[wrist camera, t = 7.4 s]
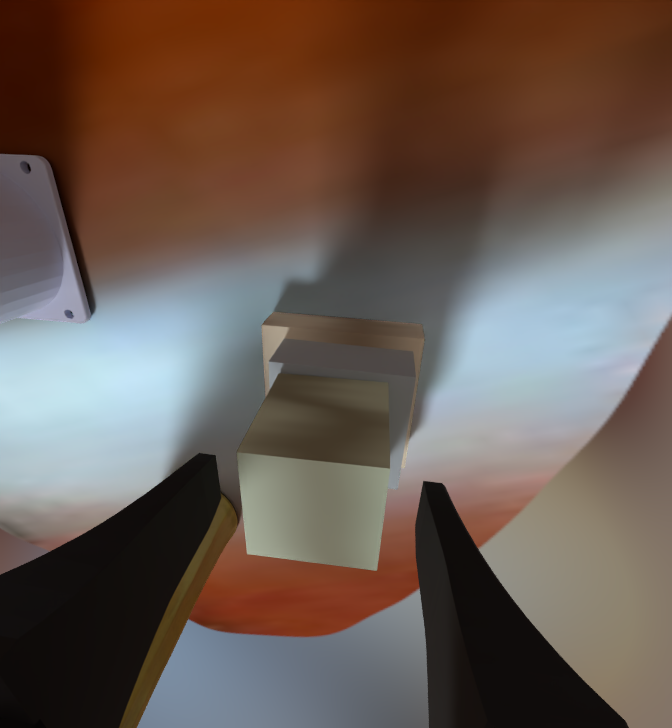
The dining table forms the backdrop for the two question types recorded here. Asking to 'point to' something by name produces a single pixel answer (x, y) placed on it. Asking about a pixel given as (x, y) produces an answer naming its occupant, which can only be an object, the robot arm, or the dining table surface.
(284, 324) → the tower base
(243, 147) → the dining table surface
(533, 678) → the robot arm
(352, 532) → the beige matte cube
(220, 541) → the vase
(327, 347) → the tower top
